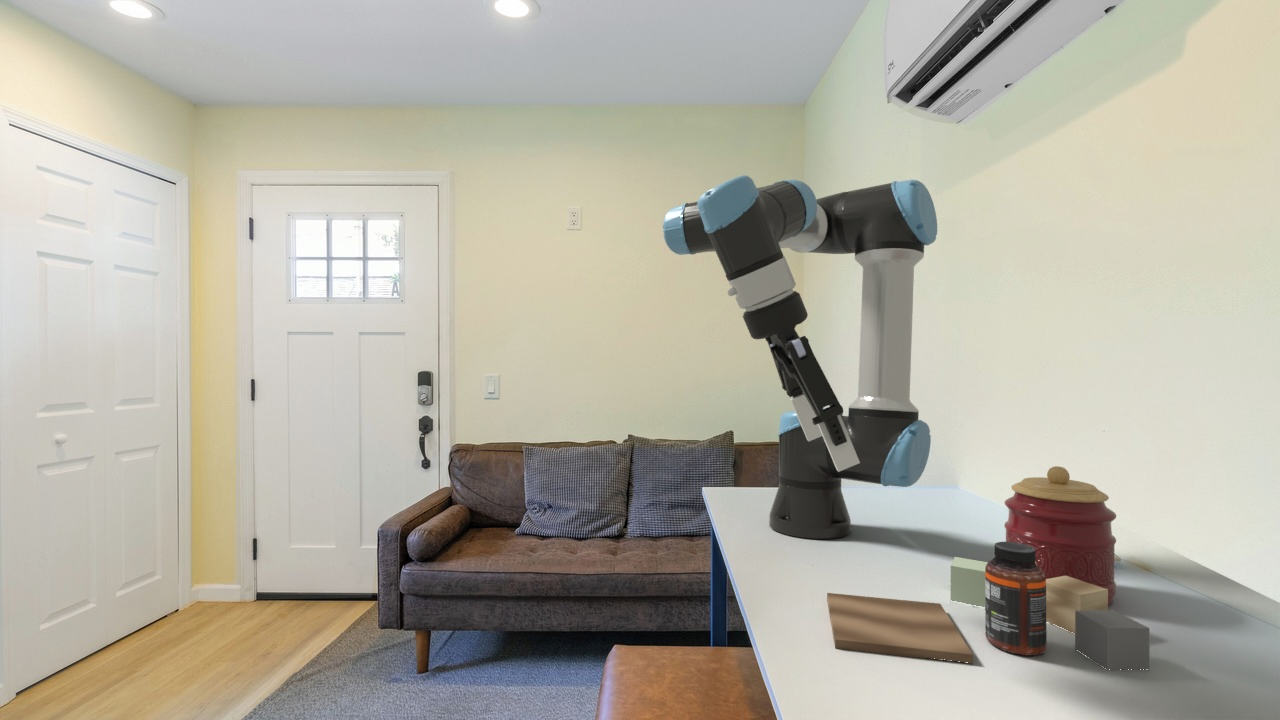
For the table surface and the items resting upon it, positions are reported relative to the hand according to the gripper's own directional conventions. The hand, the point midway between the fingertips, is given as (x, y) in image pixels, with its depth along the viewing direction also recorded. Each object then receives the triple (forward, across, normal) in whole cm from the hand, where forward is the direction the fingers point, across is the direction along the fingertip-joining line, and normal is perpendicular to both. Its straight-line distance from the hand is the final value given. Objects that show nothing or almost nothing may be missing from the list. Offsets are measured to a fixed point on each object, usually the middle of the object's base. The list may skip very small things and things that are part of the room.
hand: (831, 450), depth 78 cm
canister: (+34, -5, +22) cm, 41 cm away
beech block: (+30, +6, +18) cm, 36 cm away
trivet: (+20, +8, -3) cm, 22 cm away
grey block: (+28, +15, +17) cm, 36 cm away
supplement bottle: (+25, +12, +9) cm, 29 cm away
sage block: (+27, -1, +10) cm, 29 cm away
